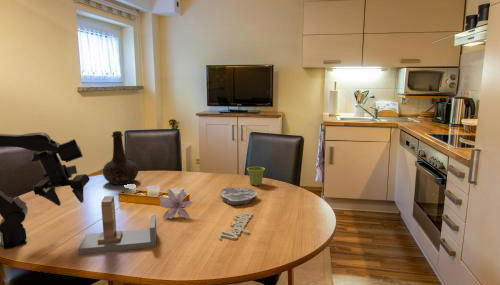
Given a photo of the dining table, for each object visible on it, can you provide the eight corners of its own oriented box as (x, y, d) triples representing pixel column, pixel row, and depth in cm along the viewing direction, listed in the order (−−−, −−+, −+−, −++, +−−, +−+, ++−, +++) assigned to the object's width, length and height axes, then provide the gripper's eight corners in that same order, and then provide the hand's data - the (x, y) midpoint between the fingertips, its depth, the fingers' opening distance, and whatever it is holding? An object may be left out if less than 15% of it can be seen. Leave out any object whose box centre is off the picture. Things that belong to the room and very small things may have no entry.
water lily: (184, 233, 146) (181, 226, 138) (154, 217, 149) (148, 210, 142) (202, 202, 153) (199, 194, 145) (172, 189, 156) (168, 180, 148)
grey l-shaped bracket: (78, 254, 114) (76, 234, 113) (86, 239, 124) (84, 220, 123) (155, 247, 119) (154, 227, 118) (156, 233, 130) (155, 215, 128)
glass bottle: (145, 180, 196) (142, 130, 191) (118, 189, 181) (114, 135, 176) (124, 176, 205) (121, 128, 200) (96, 183, 190) (92, 132, 185)
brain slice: (263, 203, 161) (263, 197, 161) (228, 208, 155) (228, 202, 155) (248, 191, 179) (248, 185, 179) (215, 195, 173) (215, 189, 172)
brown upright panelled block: (120, 241, 119) (117, 201, 116) (97, 243, 117) (94, 202, 115) (122, 233, 124) (119, 195, 122) (101, 235, 123) (98, 196, 120)
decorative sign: (243, 241, 122) (216, 238, 124) (243, 243, 122) (216, 240, 124) (259, 213, 147) (236, 211, 149) (259, 215, 147) (236, 213, 150)
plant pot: (244, 182, 193) (244, 167, 191) (261, 181, 196) (261, 165, 194) (250, 187, 184) (250, 171, 183) (267, 186, 187) (267, 170, 185)
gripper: (88, 152, 128) (104, 188, 135) (42, 159, 131) (60, 194, 138) (72, 168, 119) (90, 205, 125) (23, 175, 121) (43, 211, 128)
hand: (71, 203), depth 129 cm, fingers open, 9 cm apart
